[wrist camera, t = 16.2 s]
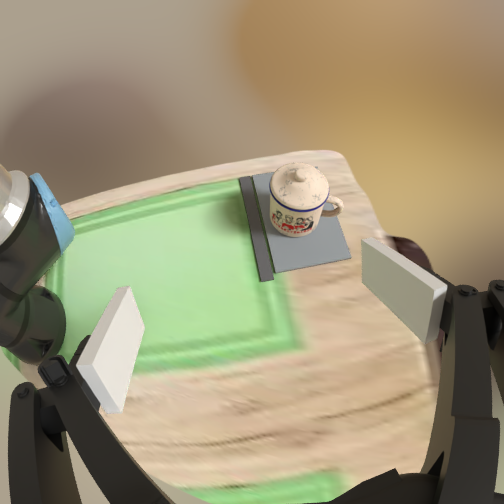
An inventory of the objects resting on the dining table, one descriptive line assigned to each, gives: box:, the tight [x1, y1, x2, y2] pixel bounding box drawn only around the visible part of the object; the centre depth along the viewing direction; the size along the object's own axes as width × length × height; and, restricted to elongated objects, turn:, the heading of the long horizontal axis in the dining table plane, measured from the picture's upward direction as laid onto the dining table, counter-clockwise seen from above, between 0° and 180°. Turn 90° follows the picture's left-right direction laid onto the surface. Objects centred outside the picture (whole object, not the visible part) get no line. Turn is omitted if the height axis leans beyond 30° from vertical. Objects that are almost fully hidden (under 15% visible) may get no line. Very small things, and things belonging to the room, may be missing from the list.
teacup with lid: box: [269, 163, 343, 237], centre depth 45 cm, size 12×9×12 cm
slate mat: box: [252, 167, 351, 273], centre depth 51 cm, size 13×20×1 cm, turn 11°
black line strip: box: [240, 176, 274, 282], centre depth 51 cm, size 2×21×1 cm, turn 10°
